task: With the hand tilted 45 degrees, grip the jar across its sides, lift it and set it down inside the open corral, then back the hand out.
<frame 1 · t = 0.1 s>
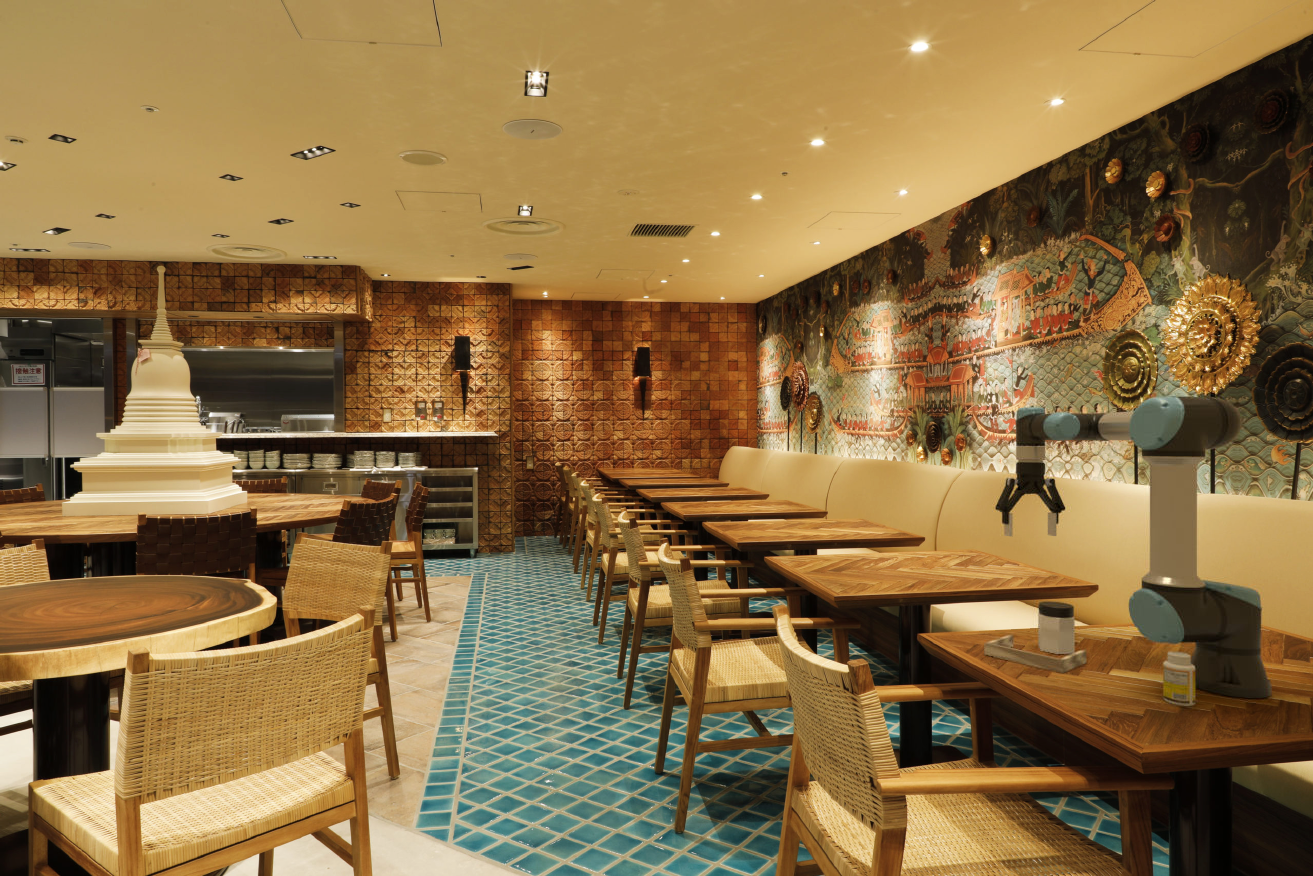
hand: (1030, 535, 212), 28 cm above the table, tool pointing down, fingers open, 13 cm apart
supplement bottle: (1179, 703, 156), on the table
corral: (1035, 658, 187), on the table
jar: (1056, 651, 194), on the table
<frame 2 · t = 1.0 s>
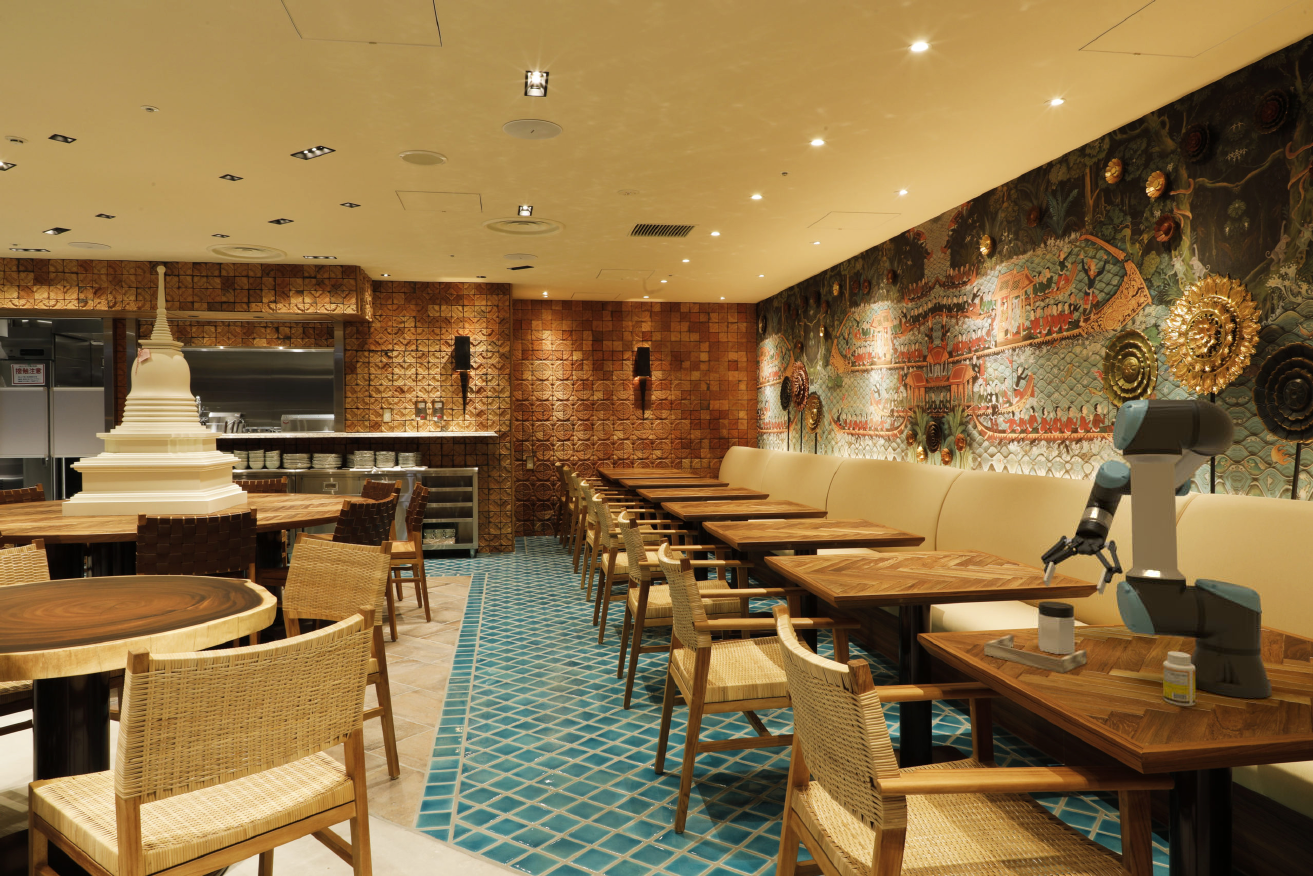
hand: (1072, 587, 201), 15 cm above the table, tool tilted 45°, fingers open, 13 cm apart
nothing on the table moved.
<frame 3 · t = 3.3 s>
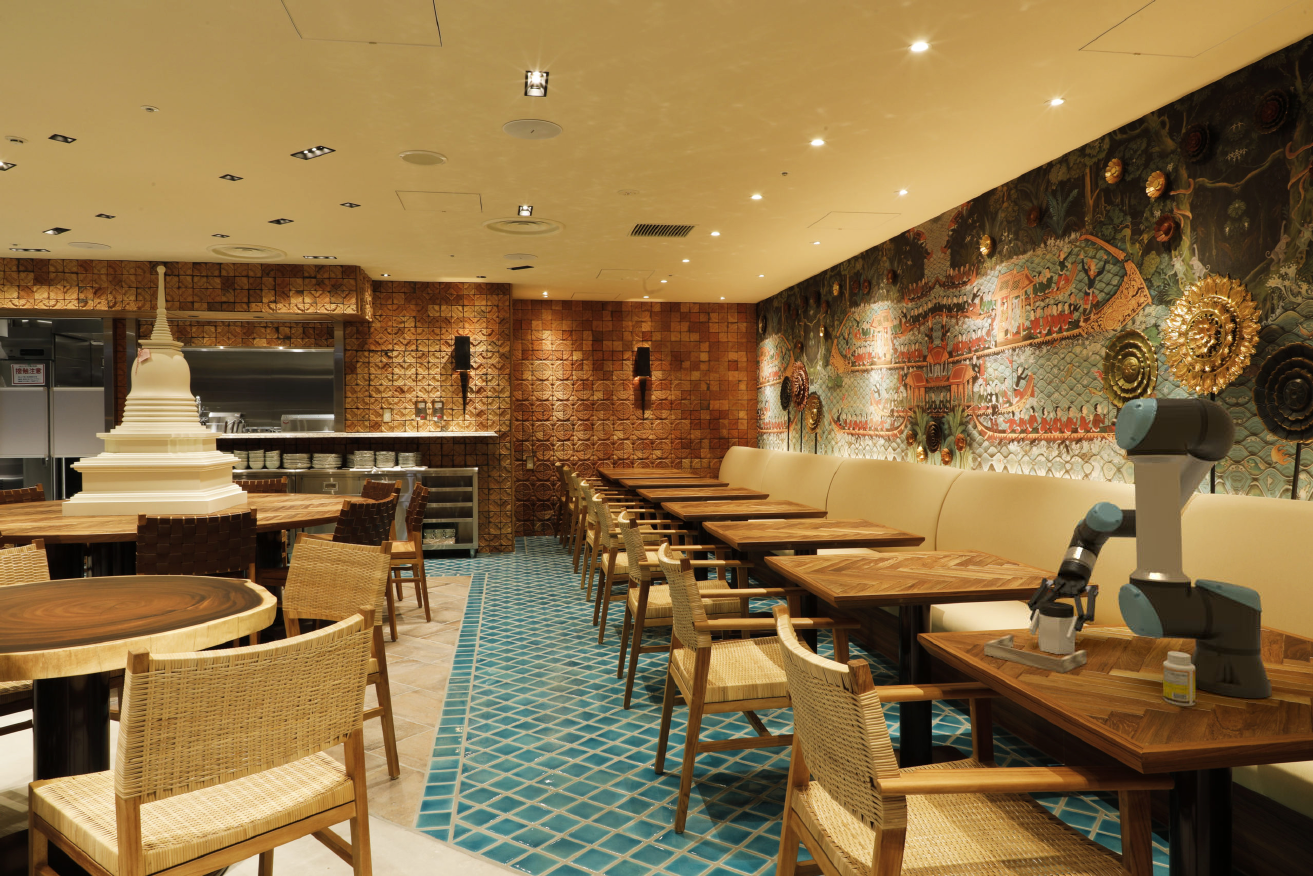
hand: (1050, 636, 192), 4 cm above the table, tool tilted 45°, fingers open, 9 cm apart
jar: (1056, 651, 194), on the table, touching gripper
everything else where it was.
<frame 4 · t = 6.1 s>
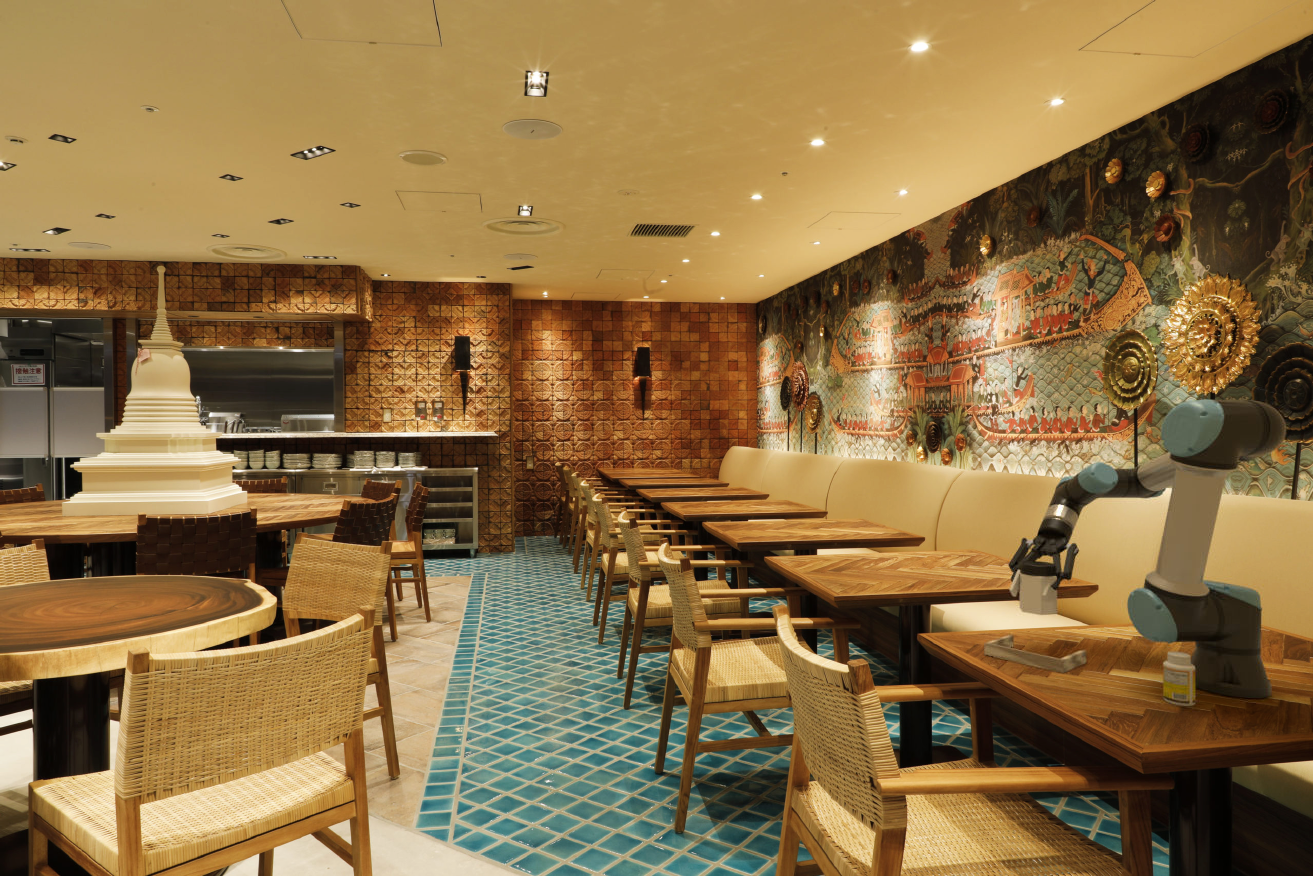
hand: (1028, 595, 185), 16 cm above the table, tool tilted 45°, fingers closed on jar, 7 cm apart
jar: (1038, 612, 186), point 12 cm above the table, touching gripper
everything else where it was.
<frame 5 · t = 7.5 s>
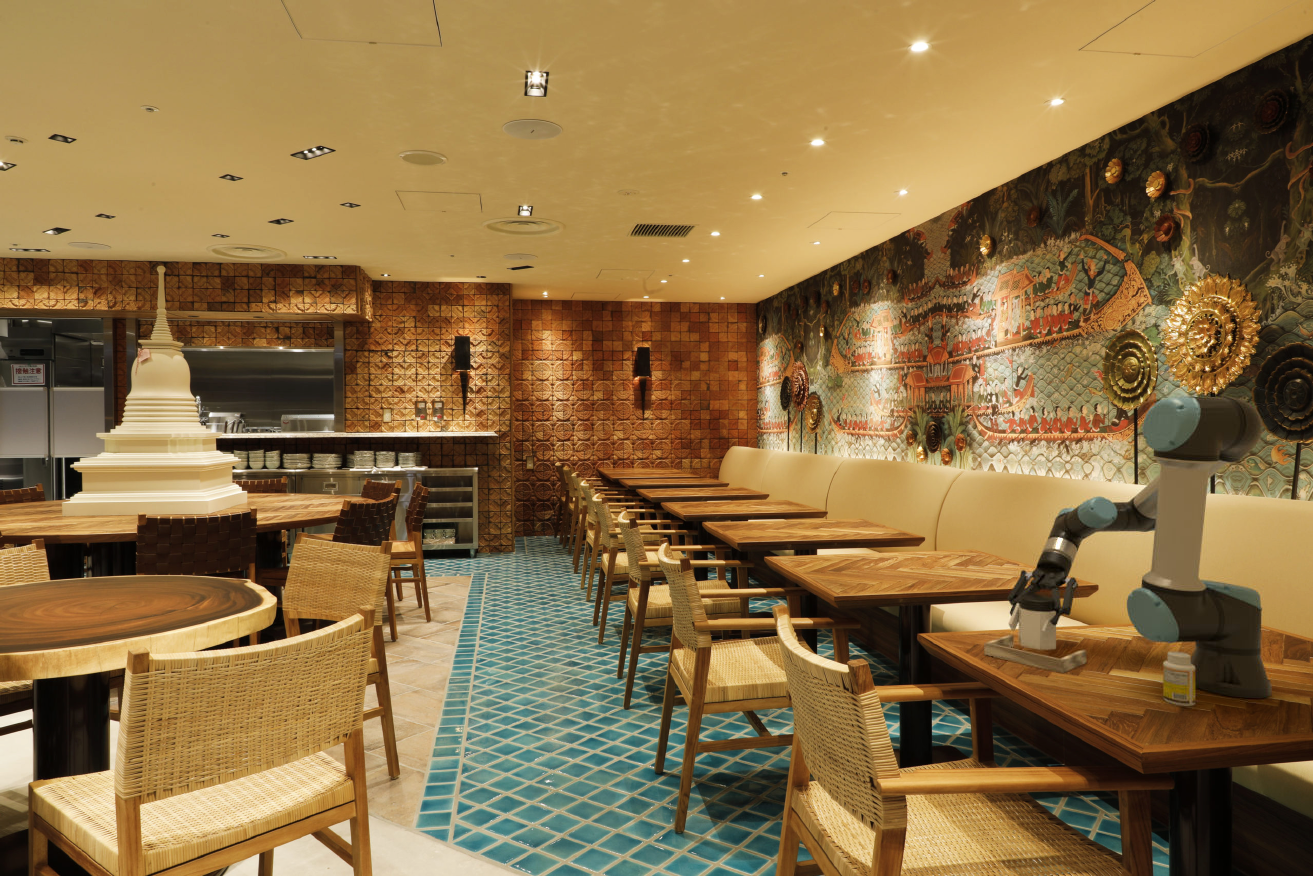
hand: (1027, 630, 185), 8 cm above the table, tool tilted 45°, fingers closed on jar, 7 cm apart
jar: (1036, 646, 187), point 3 cm above the table, touching gripper
everything else where it was.
when the fingers open (6 cm above the table, at t = 8.4 s): jar drops 1 cm, on the table.
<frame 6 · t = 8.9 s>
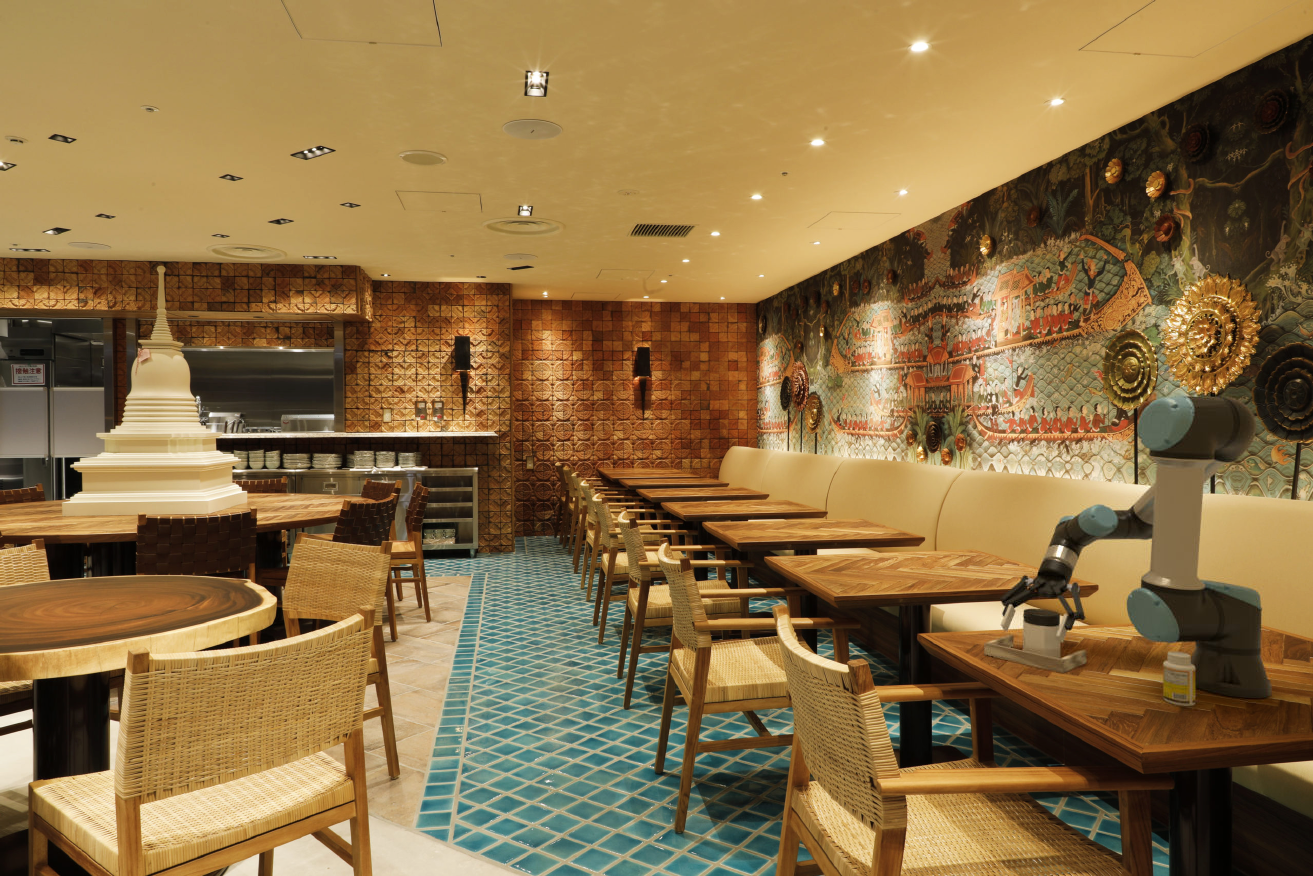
hand: (1030, 633, 185), 7 cm above the table, tool tilted 45°, fingers open, 13 cm apart
jar: (1041, 660, 186), on the table
everything else where it was.
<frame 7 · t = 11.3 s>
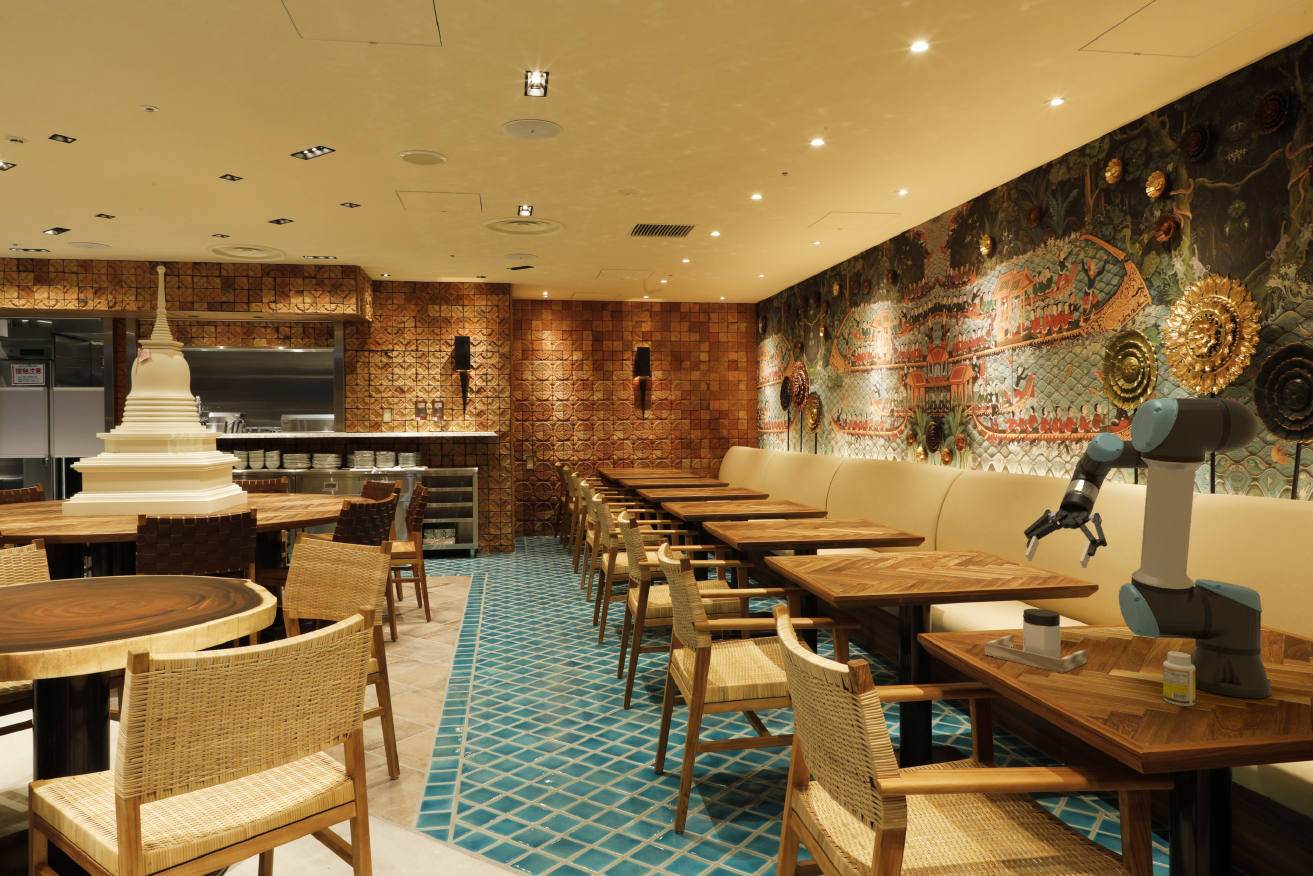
hand: (1054, 561, 194), 23 cm above the table, tool tilted 45°, fingers open, 13 cm apart
nothing on the table moved.
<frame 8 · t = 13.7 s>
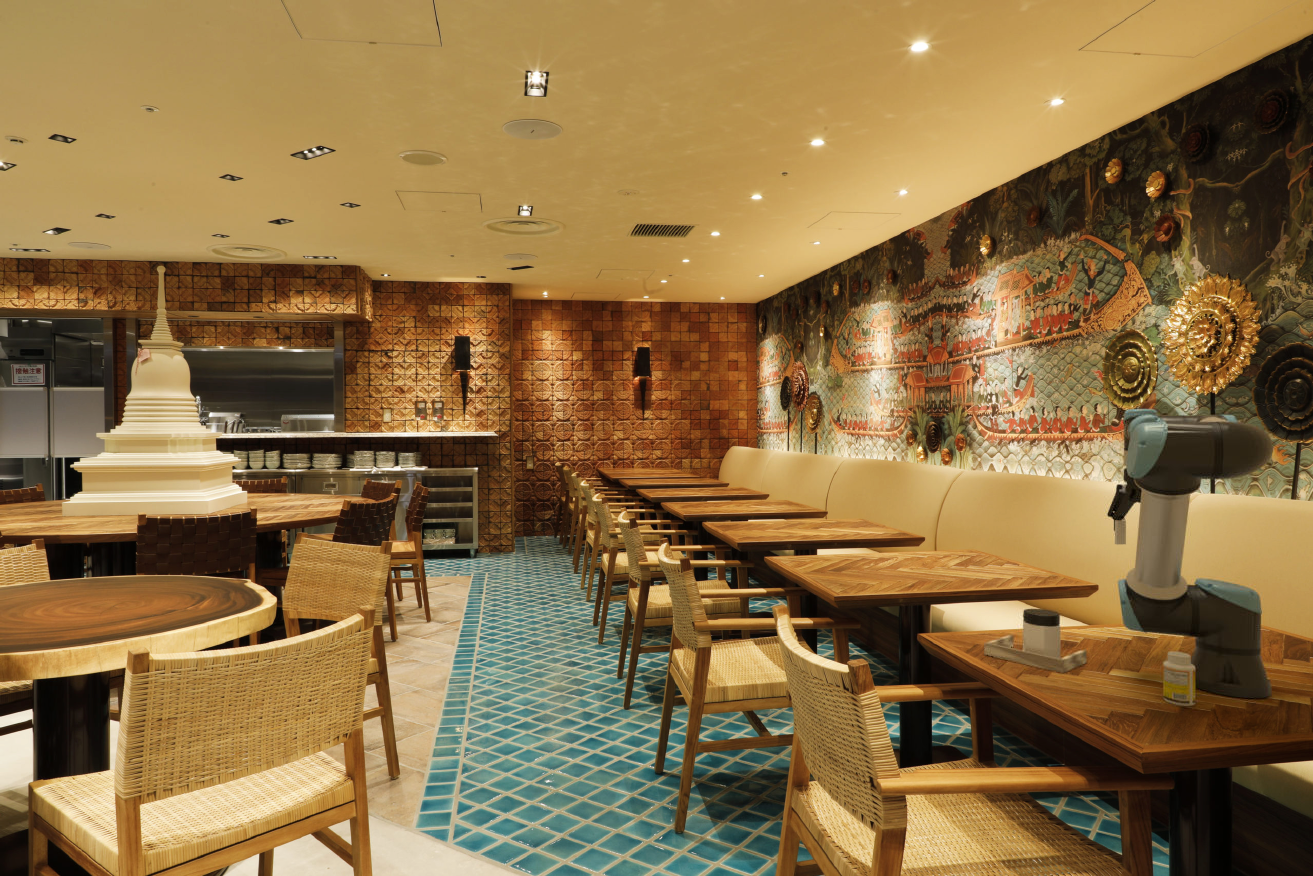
hand: (1140, 548, 196), 27 cm above the table, tool pointing down, fingers open, 13 cm apart
nothing on the table moved.
at the end: jar 1.5 cm from the corral (horizontally); jar tilted 0°; the gripper is holding nothing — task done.
